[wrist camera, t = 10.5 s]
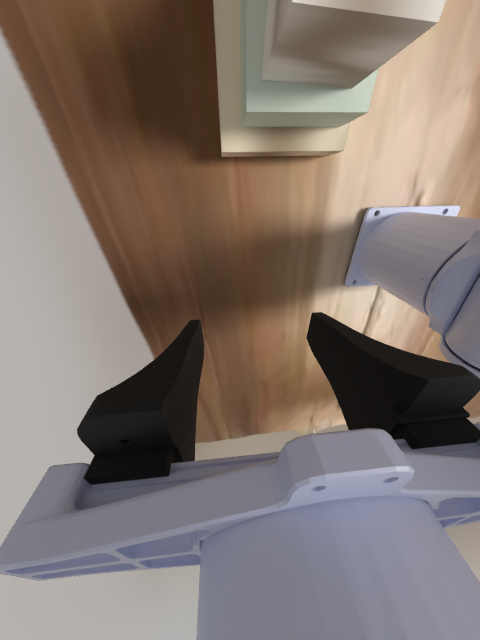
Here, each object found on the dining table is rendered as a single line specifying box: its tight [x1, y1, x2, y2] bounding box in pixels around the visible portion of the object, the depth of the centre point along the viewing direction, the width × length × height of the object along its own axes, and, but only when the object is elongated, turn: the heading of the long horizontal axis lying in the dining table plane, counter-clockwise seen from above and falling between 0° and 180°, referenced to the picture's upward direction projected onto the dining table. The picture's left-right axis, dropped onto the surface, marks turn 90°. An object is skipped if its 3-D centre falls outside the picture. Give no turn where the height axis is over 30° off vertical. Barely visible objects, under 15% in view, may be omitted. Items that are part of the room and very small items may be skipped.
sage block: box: [240, 0, 378, 127], centre depth 10 cm, size 7×7×3 cm
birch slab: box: [213, 0, 350, 157], centre depth 13 cm, size 9×9×3 cm
